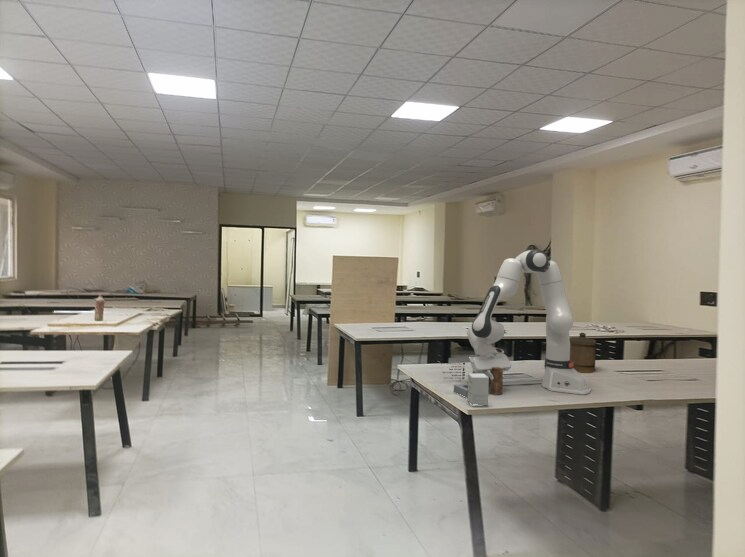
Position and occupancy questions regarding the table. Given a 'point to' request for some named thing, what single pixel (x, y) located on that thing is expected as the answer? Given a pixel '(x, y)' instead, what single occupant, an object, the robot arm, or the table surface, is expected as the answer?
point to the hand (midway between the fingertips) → (497, 379)
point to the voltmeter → (464, 372)
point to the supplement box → (478, 388)
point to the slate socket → (461, 389)
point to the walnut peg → (497, 380)
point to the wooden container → (583, 353)
